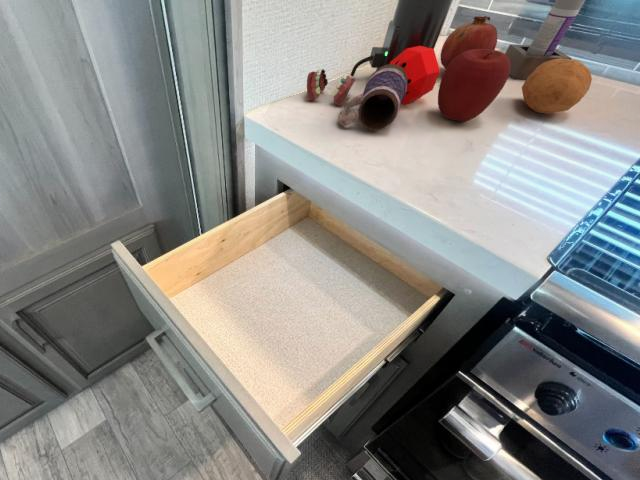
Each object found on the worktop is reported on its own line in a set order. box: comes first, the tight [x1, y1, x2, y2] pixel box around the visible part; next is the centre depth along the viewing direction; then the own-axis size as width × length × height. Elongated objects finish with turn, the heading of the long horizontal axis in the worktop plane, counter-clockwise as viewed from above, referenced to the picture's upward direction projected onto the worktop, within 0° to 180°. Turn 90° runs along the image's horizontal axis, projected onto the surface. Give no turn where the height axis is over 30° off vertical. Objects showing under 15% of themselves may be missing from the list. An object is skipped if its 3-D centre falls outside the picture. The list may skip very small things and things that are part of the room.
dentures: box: [306, 68, 356, 106], centre depth 62 cm, size 6×5×9 cm
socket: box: [504, 43, 573, 80], centre depth 71 cm, size 9×9×4 cm
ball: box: [390, 46, 441, 105], centre depth 60 cm, size 8×8×8 cm
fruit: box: [440, 15, 498, 69], centre depth 68 cm, size 11×10×10 cm
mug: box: [337, 64, 408, 132], centre depth 56 cm, size 10×7×12 cm
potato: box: [521, 58, 593, 115], centre depth 57 cm, size 9×11×8 cm
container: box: [527, 0, 586, 56], centre depth 67 cm, size 5×5×15 cm
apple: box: [437, 49, 510, 122], centre depth 54 cm, size 10×10×10 cm
